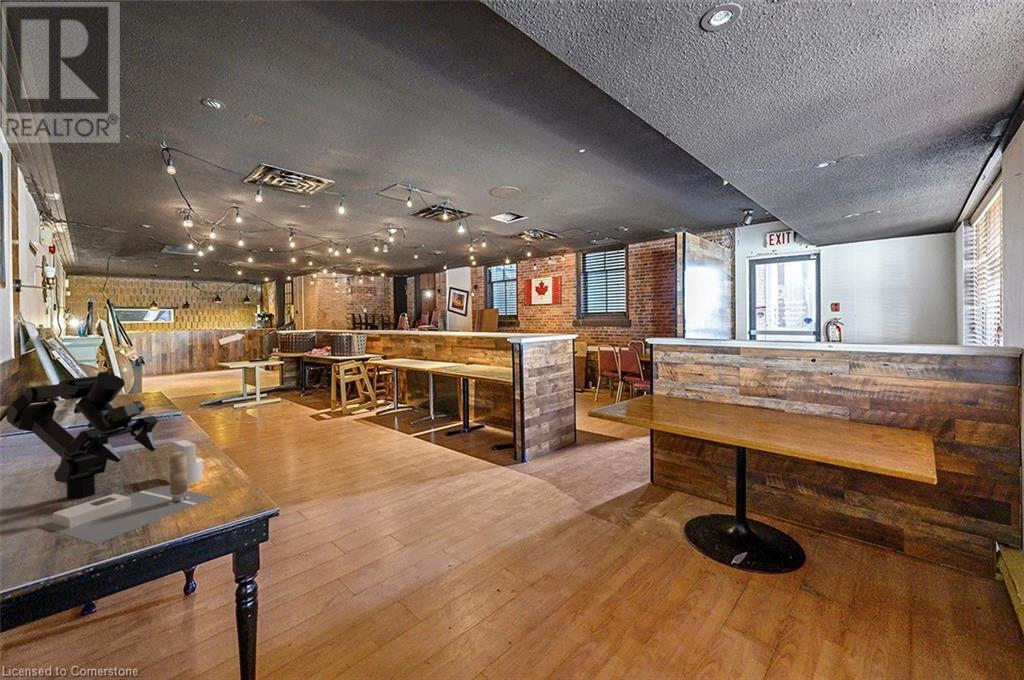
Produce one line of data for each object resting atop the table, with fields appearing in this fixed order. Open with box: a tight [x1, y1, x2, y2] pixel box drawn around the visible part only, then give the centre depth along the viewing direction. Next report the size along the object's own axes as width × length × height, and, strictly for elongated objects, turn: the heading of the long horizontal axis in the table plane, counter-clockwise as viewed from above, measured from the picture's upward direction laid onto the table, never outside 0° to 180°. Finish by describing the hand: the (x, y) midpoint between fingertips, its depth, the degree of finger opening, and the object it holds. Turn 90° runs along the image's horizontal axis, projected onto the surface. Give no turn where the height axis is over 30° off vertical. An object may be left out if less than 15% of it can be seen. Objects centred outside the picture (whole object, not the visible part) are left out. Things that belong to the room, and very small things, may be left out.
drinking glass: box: [165, 439, 204, 486], centre depth 130 cm, size 9×9×12 cm
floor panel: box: [36, 484, 216, 545], centre depth 107 cm, size 24×26×1 cm
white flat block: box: [52, 493, 131, 528], centre depth 104 cm, size 7×12×3 cm, turn 160°
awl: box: [168, 451, 188, 503], centre depth 113 cm, size 4×4×13 cm
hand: (137, 455), depth 113 cm, fingers open, 9 cm apart
